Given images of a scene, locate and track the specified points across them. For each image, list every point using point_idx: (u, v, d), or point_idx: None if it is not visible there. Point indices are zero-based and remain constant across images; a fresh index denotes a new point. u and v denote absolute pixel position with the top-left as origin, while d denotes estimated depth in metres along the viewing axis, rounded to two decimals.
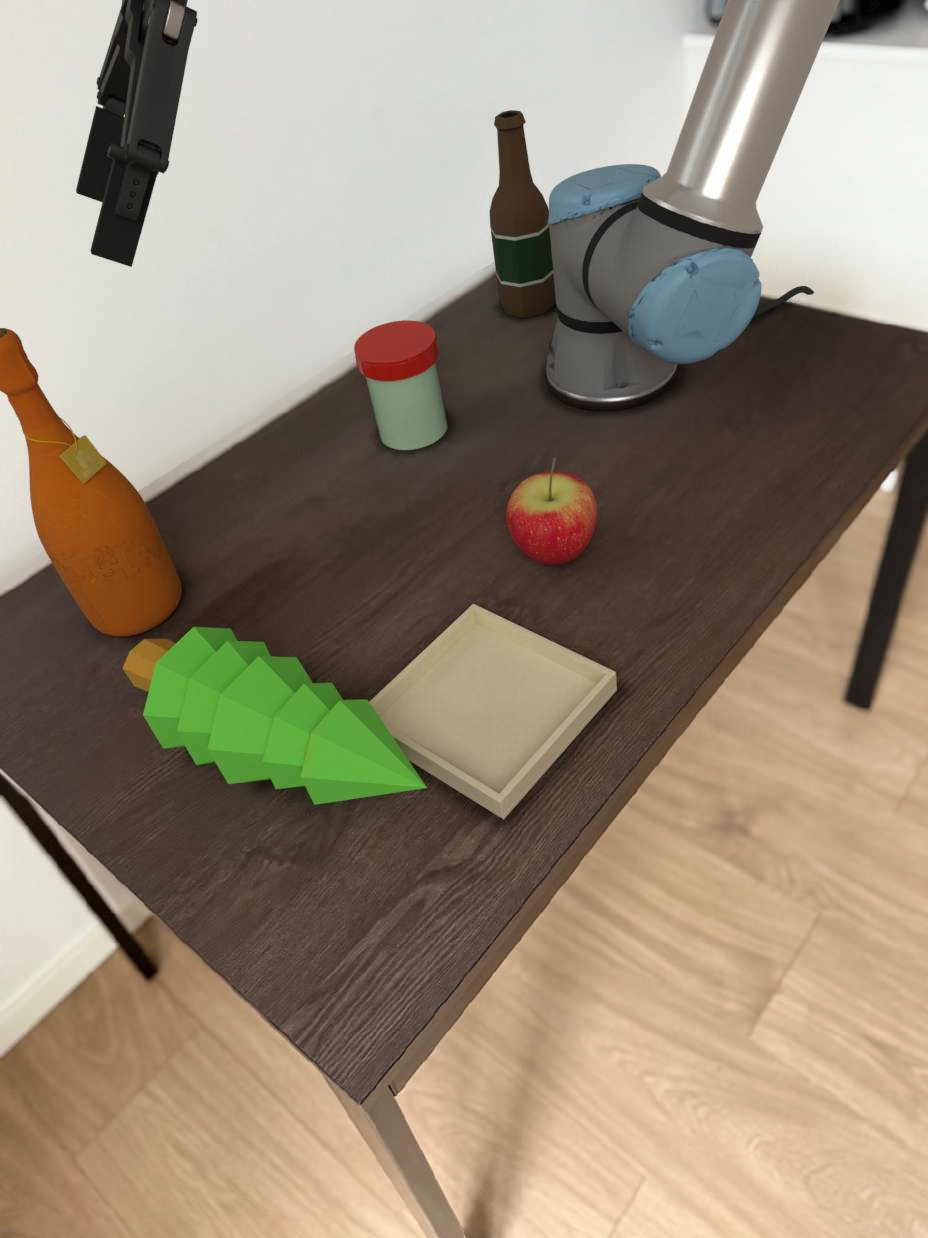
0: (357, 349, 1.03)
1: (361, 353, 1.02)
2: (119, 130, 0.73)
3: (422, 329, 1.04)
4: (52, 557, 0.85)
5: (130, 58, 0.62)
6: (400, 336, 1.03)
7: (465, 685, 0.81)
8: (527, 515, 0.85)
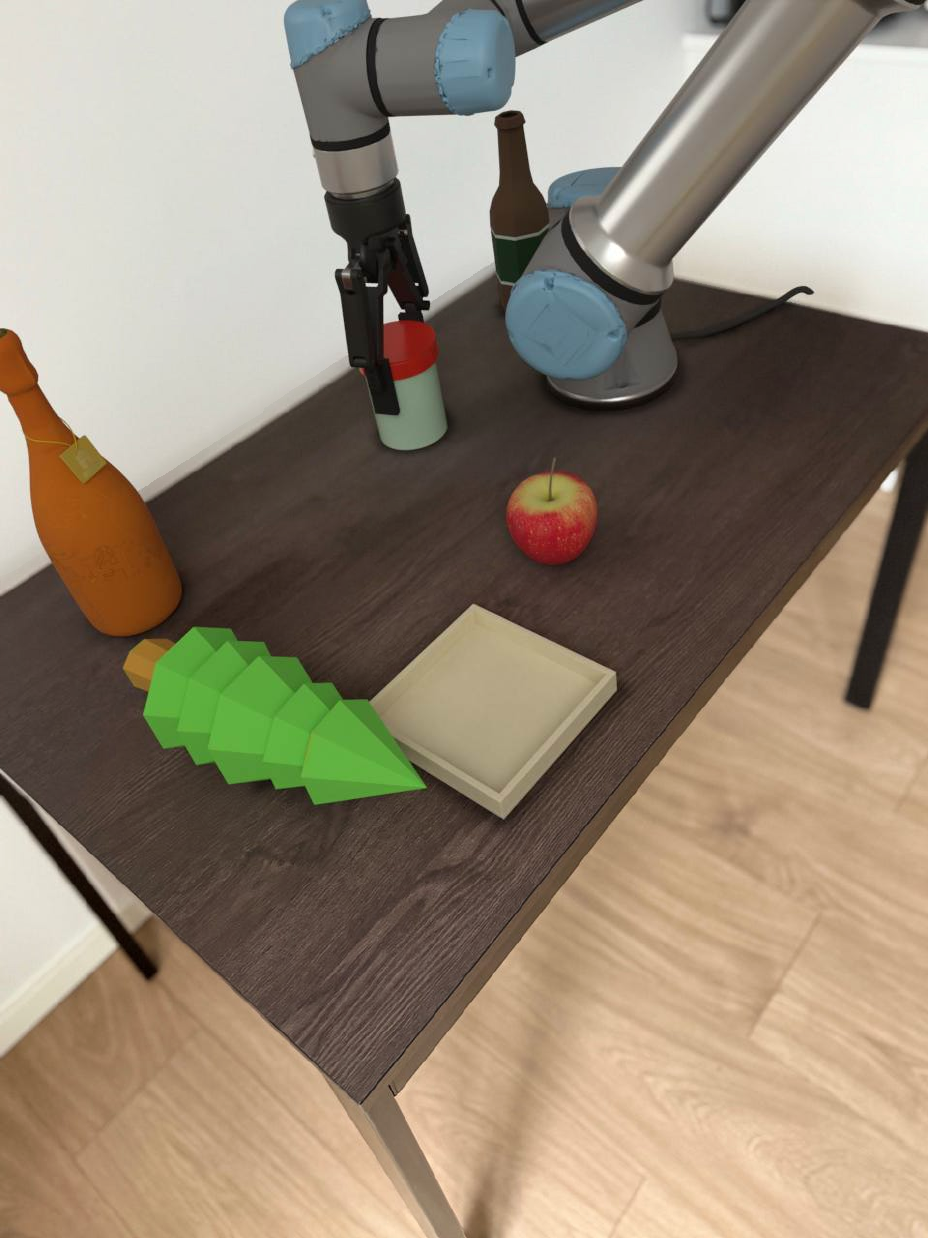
0: None
1: None
2: None
3: (422, 329, 1.04)
4: (52, 557, 0.85)
5: None
6: (400, 336, 1.03)
7: (465, 685, 0.81)
8: (527, 515, 0.85)
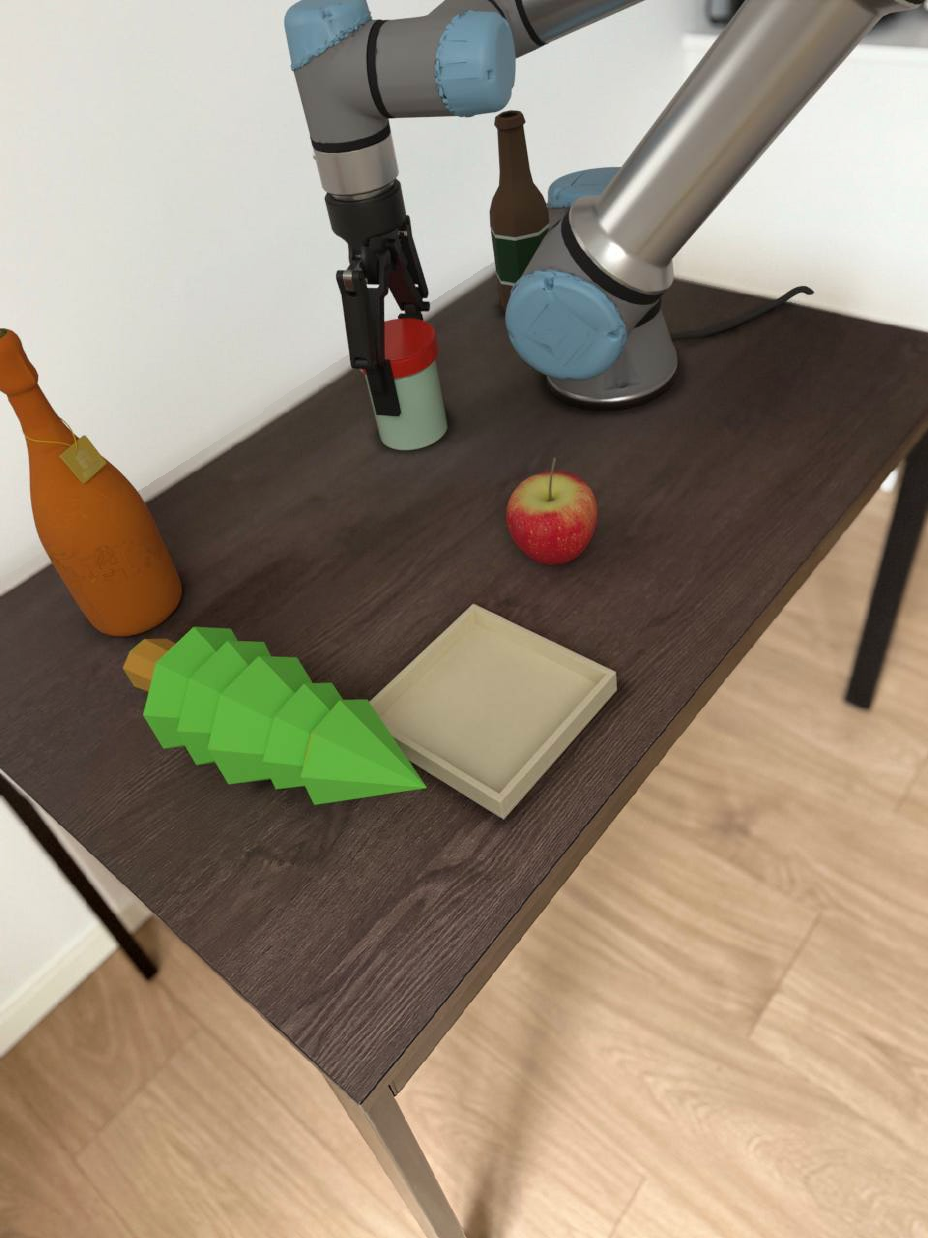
0: (399, 356, 1.00)
1: (409, 353, 1.00)
2: None
3: None
4: (52, 557, 0.85)
5: None
6: (388, 336, 1.03)
7: (465, 685, 0.81)
8: (527, 515, 0.85)
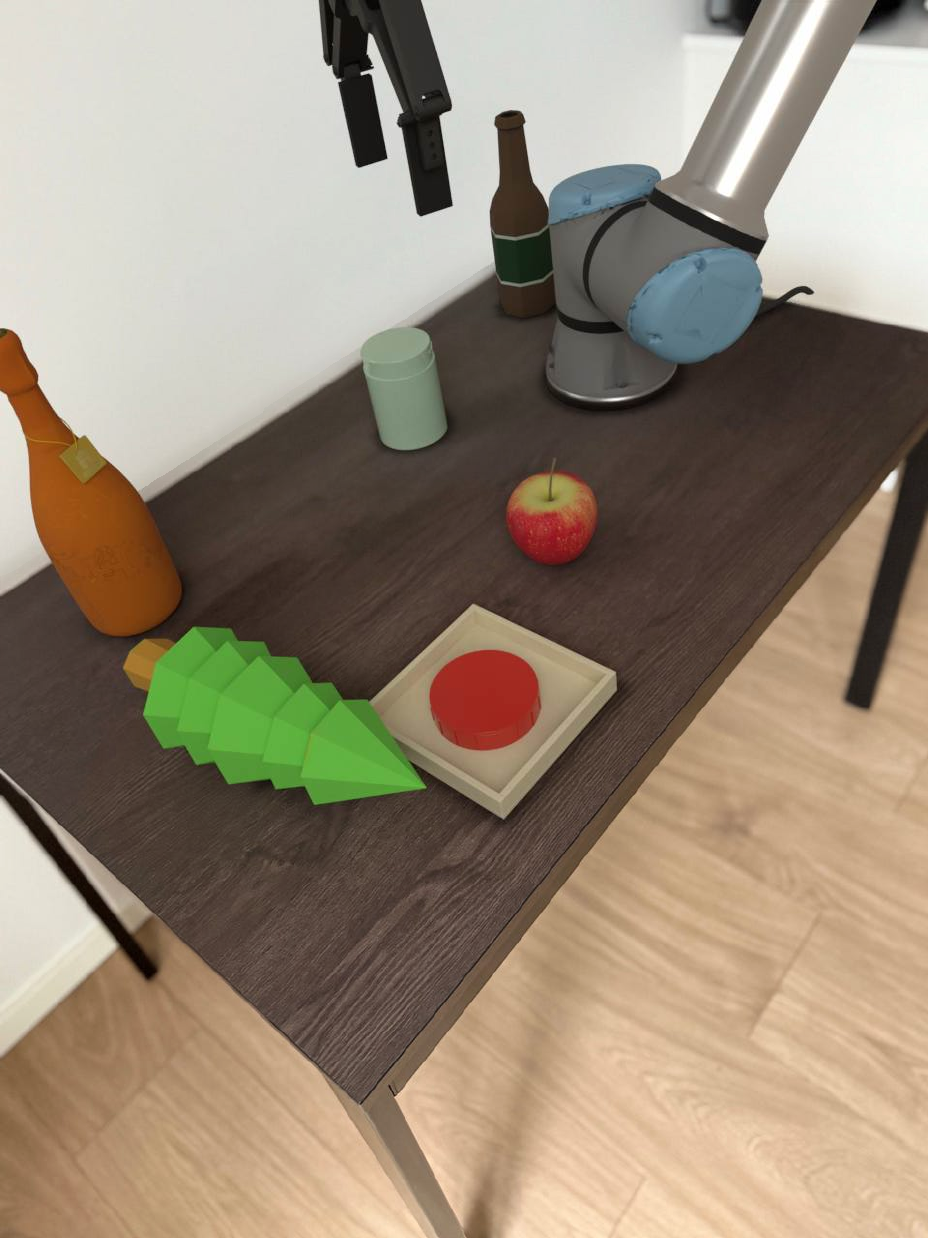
0: (444, 671, 0.79)
1: (439, 680, 0.79)
2: (364, 89, 0.77)
3: (524, 697, 0.76)
4: (52, 557, 0.85)
5: (369, 27, 0.65)
6: (494, 689, 0.77)
7: None
8: (527, 515, 0.85)
